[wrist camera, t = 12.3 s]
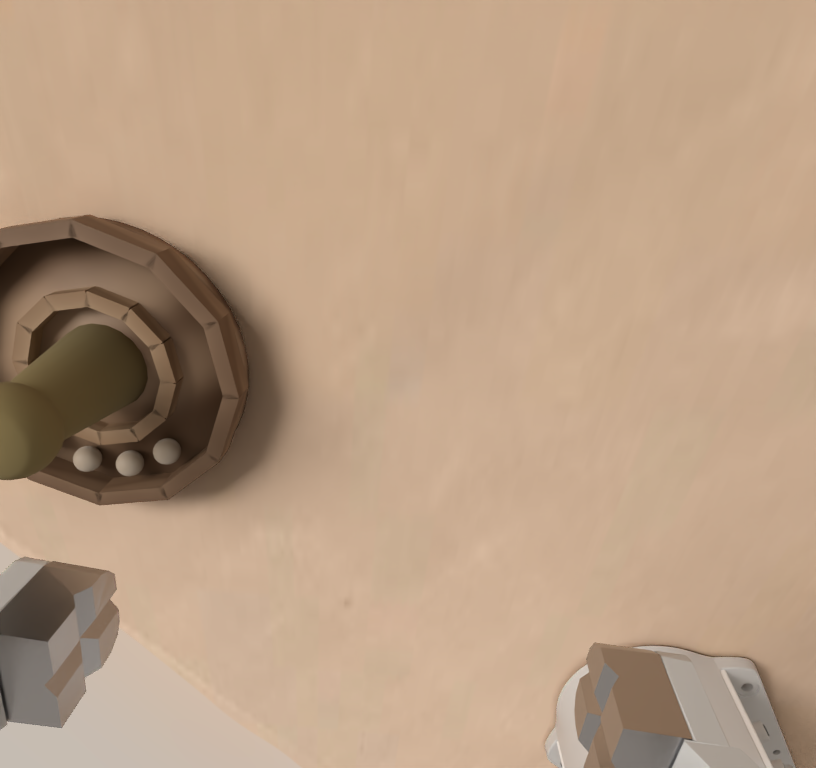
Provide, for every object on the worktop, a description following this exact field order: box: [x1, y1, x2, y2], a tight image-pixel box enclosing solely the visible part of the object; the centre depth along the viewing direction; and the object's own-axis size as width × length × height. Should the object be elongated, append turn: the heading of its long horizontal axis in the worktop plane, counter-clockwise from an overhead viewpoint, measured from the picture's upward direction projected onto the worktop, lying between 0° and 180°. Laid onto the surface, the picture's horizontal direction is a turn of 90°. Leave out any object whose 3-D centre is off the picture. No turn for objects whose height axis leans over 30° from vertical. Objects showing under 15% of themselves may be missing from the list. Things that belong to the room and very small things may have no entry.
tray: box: [0, 215, 249, 505], centre depth 40 cm, size 19×19×3 cm
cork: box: [0, 323, 148, 480], centre depth 35 cm, size 6×6×11 cm
